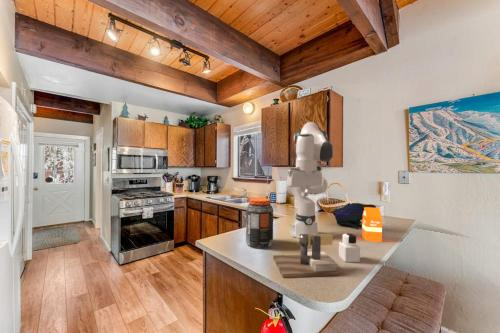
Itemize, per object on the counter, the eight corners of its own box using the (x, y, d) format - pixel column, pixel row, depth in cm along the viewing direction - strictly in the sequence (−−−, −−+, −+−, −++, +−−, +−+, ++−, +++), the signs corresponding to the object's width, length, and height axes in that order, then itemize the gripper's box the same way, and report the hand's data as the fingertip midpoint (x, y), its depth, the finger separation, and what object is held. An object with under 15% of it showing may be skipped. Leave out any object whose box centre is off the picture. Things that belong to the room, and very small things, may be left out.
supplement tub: (256, 237, 135) (257, 196, 135) (278, 243, 125) (278, 199, 125) (239, 244, 122) (240, 199, 123) (262, 251, 113) (262, 202, 113)
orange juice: (381, 242, 130) (382, 209, 130) (366, 240, 132) (366, 208, 132) (376, 237, 138) (377, 206, 138) (362, 236, 140) (362, 206, 140)
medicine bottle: (352, 256, 109) (352, 232, 109) (360, 262, 101) (360, 237, 102) (338, 256, 108) (338, 232, 108) (345, 262, 101) (345, 236, 101)
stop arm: (301, 245, 94) (301, 236, 94) (298, 242, 98) (298, 233, 98) (332, 245, 96) (333, 236, 96) (328, 242, 100) (328, 233, 100)
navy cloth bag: (339, 234, 173) (381, 229, 162) (334, 229, 153) (382, 222, 141) (333, 209, 183) (372, 203, 171) (328, 201, 162) (372, 193, 151)
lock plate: (273, 258, 104) (273, 228, 104) (320, 257, 107) (321, 228, 107) (282, 277, 86) (283, 241, 86) (339, 275, 89) (340, 240, 89)
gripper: (293, 167, 95) (293, 198, 95) (324, 167, 106) (324, 195, 106) (284, 167, 101) (283, 196, 101) (314, 167, 111) (314, 194, 111)
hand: (304, 196), depth 103 cm, fingers closed
